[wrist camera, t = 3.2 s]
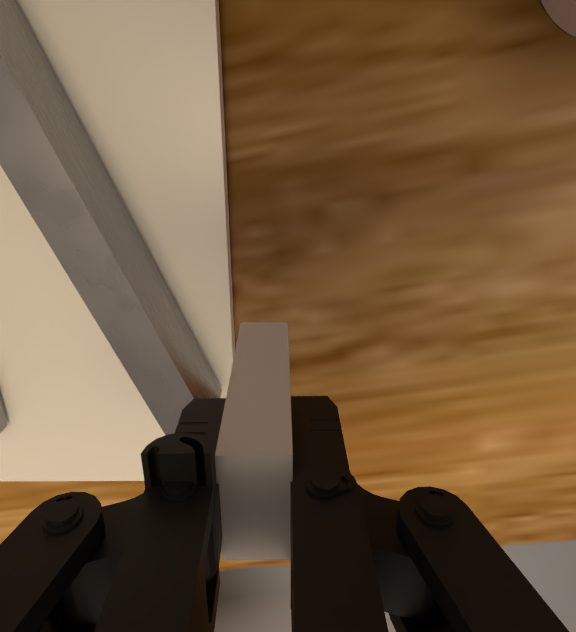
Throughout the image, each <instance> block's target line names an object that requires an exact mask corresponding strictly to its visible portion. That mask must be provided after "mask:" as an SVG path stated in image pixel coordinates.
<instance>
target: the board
mask: <svg viewBox="0 0 576 632" xmlns="http://www.w3.org/2000/svg"><path fill="white" fill-rule="evenodd" d="M15 1H16V3H17V5H18V7H19V8H20V10H21V12H22V14H23V16H24V18H25V20H26V22H27V24H28V25H29V27H30V29H31V31H32V33H33V35H34V37H35V39H36V40H37V42H38V44H39V46H40V48H41V50H42V52H43V54H44V56H45V57H46V59H47V61H48V63H49V65H50V67H51V69H52V71H53V72H54V74H55V76H56V78H57V80H58V82H59V84H60V86H61V88H62V89H63V91H64V93H65V95H66V97H67V99H68V101H69V103H70V104H71V106H72V108H73V110H74V112H75V114H76V116H77V118H78V119H79V121H80V123H81V125H82V127H83V129H84V131H85V133H86V135H87V136H88V138H89V140H90V142H91V144H92V146H93V148H94V150H95V151H96V153H97V155H98V157H99V159H100V161H101V163H102V165H103V167H104V168H105V170H106V172H107V174H108V176H109V178H110V180H111V182H112V183H113V185H114V187H115V189H116V191H117V193H118V195H119V197H120V199H121V200H122V202H123V204H124V206H125V208H126V210H127V212H128V214H129V215H130V217H131V219H132V221H133V223H134V225H135V227H136V229H137V230H138V232H139V234H140V236H141V238H142V240H143V242H144V244H145V246H146V247H147V249H148V251H149V253H150V255H151V257H152V259H153V261H154V262H155V264H156V266H157V268H158V270H159V272H160V274H161V276H162V278H163V279H164V281H165V283H166V285H167V287H168V289H169V291H170V293H171V294H172V296H173V298H174V300H175V302H176V304H177V306H178V308H179V310H180V311H181V313H182V315H183V317H184V319H185V321H186V323H187V325H188V326H189V328H190V330H191V332H192V334H193V336H194V338H195V340H196V341H197V343H198V345H199V347H200V349H201V351H202V353H203V355H204V357H205V358H206V360H207V362H208V364H209V366H210V368H211V370H212V372H213V373H214V375H215V377H216V379H217V381H218V383H219V385H220V387H221V389H222V392H221V397H220V398H226V396H227V390H228V385H229V380H230V375H231V370H232V365H233V359H234V354H235V335H234V314H233V293H232V272H231V251H230V229H229V208H228V187H227V166H226V145H225V123H224V102H223V81H222V60H221V38H220V17H219V0H15ZM0 399H1V402H2V406H3V410H4V413H5V417H6V421H7V426H6V428H5V429H4V430H3V431H2V432H1V433H0V481H144V475H143V468H142V460H141V453H142V451H143V450H144V448H145V447H146V446H147V445H148V444H150V443H151V442H152V441H154V440H155V439H157V438H160V437H163V436H165V434H164V432H163V430H162V429H161V427H160V425H159V424H158V422H157V421H156V419H155V417H154V416H153V414H152V412H151V411H150V409H149V407H148V406H147V404H146V403H145V401H144V399H143V398H142V396H141V394H140V393H139V391H138V389H137V388H136V386H135V385H134V383H133V381H132V380H131V378H130V376H129V375H128V373H127V372H126V370H125V368H124V367H123V365H122V363H121V362H120V360H119V358H118V357H117V355H116V354H115V352H114V350H113V349H112V347H111V345H110V344H109V342H108V340H107V339H106V337H105V336H104V334H103V332H102V331H101V329H100V327H99V326H98V324H97V322H96V321H95V319H94V318H93V316H92V314H91V313H90V311H89V309H88V308H87V306H86V304H85V303H84V301H83V300H82V298H81V296H80V295H79V293H78V291H77V290H76V288H75V286H74V285H73V283H72V282H71V280H70V278H69V277H68V275H67V273H66V272H65V270H64V268H63V267H62V265H61V264H60V262H59V260H58V259H57V257H56V255H55V254H54V252H53V250H52V249H51V247H50V246H49V244H48V242H47V241H46V239H45V237H44V236H43V234H42V232H41V231H40V229H39V228H38V226H37V224H36V223H35V221H34V219H33V218H32V216H31V214H30V213H29V211H28V210H27V208H26V206H25V205H24V203H23V201H22V200H21V198H20V196H19V195H18V193H17V192H16V190H15V188H14V187H13V185H12V183H11V182H10V180H9V179H8V177H7V175H6V174H5V172H4V170H3V169H2V167H1V165H0Z"/></svg>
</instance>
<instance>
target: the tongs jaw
mask: <svg viewBox="0 0 576 632" xmlns="http://www.w3.org/2000/svg"><path fill="white" fill-rule="evenodd" d="M0 165H1V167H2V169H3V170H4V172H5V174H6V175H7V177H8V179H9V180H10V182H11V183H12V185H13V187H14V188H15V190H16V192H17V193H18V195H19V196H20V198H21V200H22V201H23V203H24V205H25V206H26V208H27V210H28V211H29V213H30V214H31V216H32V218H33V219H34V221H35V223H36V224H37V226H38V228H39V229H40V231H41V232H42V234H43V236H44V237H45V239H46V241H47V242H48V244H49V246H50V247H51V249H52V250H53V252H54V254H55V255H56V257H57V259H58V260H59V262H60V264H61V265H62V267H63V268H64V270H65V272H66V273H67V275H68V277H69V278H70V280H71V282H72V283H73V285H74V286H75V288H76V290H77V291H78V293H79V295H80V296H81V298H82V300H83V301H84V303H85V304H86V306H87V308H88V309H89V311H90V313H91V314H92V316H93V318H94V319H95V321H96V322H97V324H98V326H99V327H100V329H101V331H102V332H103V334H104V336H105V337H106V339H107V340H108V342H109V344H110V345H111V347H112V349H113V350H114V352H115V354H116V355H117V357H118V358H119V360H120V362H121V363H122V365H123V367H124V368H125V370H126V372H127V373H128V375H129V376H130V378H131V380H132V381H133V383H134V385H135V386H136V388H137V389H138V391H139V393H140V394H141V396H142V398H143V399H144V401H145V403H146V404H147V406H148V407H149V409H150V411H151V412H152V414H153V416H154V417H155V419H156V421H157V422H158V424H159V425H160V427H161V429H162V430H163V432H164V434H165V435H168V434H174V433H175V430H176V427H177V425H178V421H179V418H180V415H181V412H182V409H183V408H185V407H186V406H187V405H188V404H189V403H190V402H191V401H192V400H193V399H194V398H220V397H221V392H222V389H221V387H220V385H219V383H218V381H217V379H216V377H215V375H214V373H213V372H212V370H211V368H210V366H209V364H208V362H207V360H206V358H205V357H204V355H203V353H202V351H201V349H200V347H199V345H198V343H197V341H196V340H195V338H194V336H193V334H192V332H191V330H190V328H189V326H188V325H187V323H186V321H185V319H184V317H183V315H182V313H181V311H180V310H179V308H178V306H177V304H176V302H175V300H174V298H173V296H172V294H171V293H170V291H169V289H168V287H167V285H166V283H165V281H164V279H163V278H162V276H161V274H160V272H159V270H158V268H157V266H156V264H155V262H154V261H153V259H152V257H151V255H150V253H149V251H148V249H147V247H146V246H145V244H144V242H143V240H142V238H141V236H140V234H139V232H138V230H137V229H136V227H135V225H134V223H133V221H132V219H131V217H130V215H129V214H128V212H127V210H126V208H125V206H124V204H123V202H122V200H121V199H120V197H119V195H118V193H117V191H116V189H115V187H114V185H113V183H112V182H111V180H110V178H109V176H108V174H107V172H106V170H105V168H104V167H103V165H102V163H101V161H100V159H99V157H98V155H97V153H96V151H95V150H94V148H93V146H92V144H91V142H90V140H89V138H88V136H87V135H86V133H85V131H84V129H83V127H82V125H81V123H80V121H79V119H78V118H77V116H76V114H75V112H74V110H73V108H72V106H71V104H70V103H69V101H68V99H67V97H66V95H65V93H64V91H63V89H62V88H61V86H60V84H59V82H58V80H57V78H56V76H55V74H54V72H53V71H52V69H51V67H50V65H49V63H48V61H47V59H46V57H45V56H44V54H43V52H42V50H41V48H40V46H39V44H38V42H37V40H36V39H35V37H34V35H33V33H32V31H31V29H30V27H29V25H28V24H27V22H26V20H25V18H24V16H23V14H22V12H21V10H20V8H19V7H18V5H17V3H16V1H15V0H0Z"/></svg>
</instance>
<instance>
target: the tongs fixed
mask: <svg viewBox="0 0 576 632" xmlns="http://www.w3.org/2000/svg"><path fill="white" fill-rule="evenodd" d="M6 426H7V421H6V417H5V413H4V410H3V406H2V402H1V399H0V433H1V432H2V431H3V430H4V429H5V428H6Z"/></svg>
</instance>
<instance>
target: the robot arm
mask: <svg viewBox="0 0 576 632" xmlns="http://www.w3.org/2000/svg"><path fill="white" fill-rule="evenodd" d="M141 460H142V468H143V475H144V482H145V491H144V493H143V494H141V495H139V496H137V497H135V498H133V499H130V500H127V501H124V502H120V503H116V504H112V505H108V506H104V507H101V503H100V502H99V500H98V499H97V498H96V497H95V496H93V495H91V494H88V493H86V492H70V493H65V494H61V495H57V496H55V497H53V498H51V499H49V500H47V501H45V502H43V503H42V504H40V505H39V506H38V507H37V508H35V509H34V510H33V511H32V512H31V513H30V514H29V515H28V516H27V517H26V518H25V519H24V520H23V521H22V522H21V523H20V524H19V525H18V526H17V528H16V529H15V530H14V531H13V532H12V533H11V534H10V535H9V536H8V537H7V538H6V539H5V540H4V541H3V542H2V543H1V544H0V632H214V628H215V620H216V619H215V618H216V612H217V604H218V596H219V588H220V576H219V560H220V553H221V552H222V560H286V559H291V616H292V632H388V628H387V623H386V618H385V613H384V612H388V613H389V616H390V619H391V621H392V623H393V626H394V628H395V630H396V632H569V631H568V630H567V628H566V627H565V626H564V625H563V623H562V622H561V621H560V620H559V619H558V617H557V616H556V615H555V614H554V612H553V611H552V610H551V609H550V607H549V606H548V605H547V604H546V602H545V601H544V600H543V599H542V597H541V596H540V595H539V594H538V593H537V591H536V590H535V589H534V588H533V586H532V585H531V584H530V583H529V581H528V580H527V579H526V578H525V576H524V575H523V574H522V573H521V571H520V570H519V569H518V568H517V567H516V565H515V564H514V563H513V562H512V561H511V559H510V558H509V557H508V555H507V554H506V553H505V552H504V550H503V549H502V548H501V547H500V546H499V544H498V543H497V542H496V541H495V539H494V538H493V537H492V536H491V534H490V533H489V532H488V531H487V529H486V528H485V527H484V526H483V524H482V523H481V522H480V521H479V520H478V518H477V517H476V516H475V515H474V513H473V512H472V511H471V510H470V508H469V507H468V506H467V505H466V504H465V503H464V502H463V501H462V500H461V499H460V498H458V497H457V496H456V495H454V494H452V493H450V492H448V491H446V490H443V489H439V488H434V487H417V488H414V489H412V490H409V491H407V492H406V493H405V494H404V495H403V496H402V497H401V498H400V501H396V500H392V499H388V498H384V497H380V496H377V495H374V494H372V493H370V492H368V491H366V490H364V489H363V488H362V487H361V486H359V485H358V484H357V482H356V480H355V478H354V477H353V476H352V475H351V473H350V470H349V465H348V460H347V455H346V450H345V445H344V439H343V434H342V429H341V424H340V419H339V414H338V409H337V406H336V405H335V404H334V403H333V402H332V401H331V400H330V399H329V398H328V396H291V394H290V367H289V339H288V322H241V323H240V329H239V334H238V339H237V344H236V349H235V354H234V359H233V365H232V370H231V375H230V380H229V385H228V390H227V396H226V398H194V399H193V400H192V401H191V402H190V403H189V404H188V405H187V406H186V407H185V408H183V409H182V412H181V415H180V418H179V421H178V425H177V427H176V430H175V433H174V434H168V435H165V436H163V437H160V438H157V439H155V440H154V441H152V442H151V443H150V444H148V445H147V446H146V447H145V448H144V450H143V451H142V453H141Z"/></svg>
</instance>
